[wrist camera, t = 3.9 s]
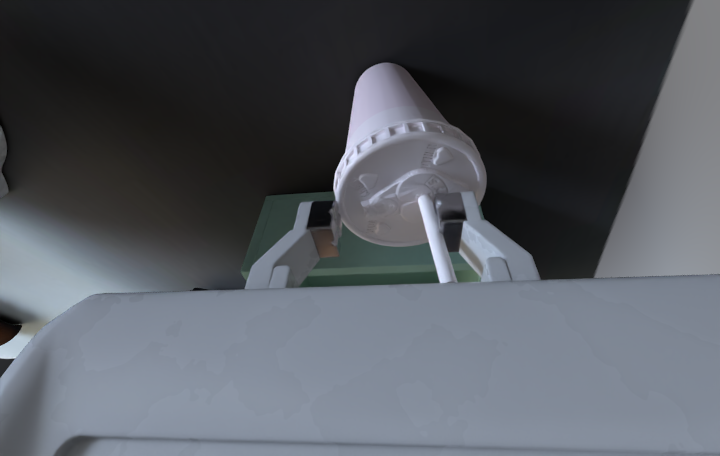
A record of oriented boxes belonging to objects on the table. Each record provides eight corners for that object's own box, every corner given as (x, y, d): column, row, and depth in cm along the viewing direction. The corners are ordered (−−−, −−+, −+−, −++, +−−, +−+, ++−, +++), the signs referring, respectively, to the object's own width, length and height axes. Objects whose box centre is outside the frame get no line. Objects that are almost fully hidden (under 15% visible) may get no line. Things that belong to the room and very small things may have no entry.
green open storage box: (308, 289, 38) (297, 356, 33) (266, 195, 27) (239, 271, 22) (457, 285, 36) (469, 355, 31) (474, 181, 25) (497, 262, 20)
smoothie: (439, 127, 22) (521, 317, 13) (347, 149, 23) (360, 343, 14) (432, 22, 18) (552, 198, 8) (317, 54, 19) (305, 248, 9)
